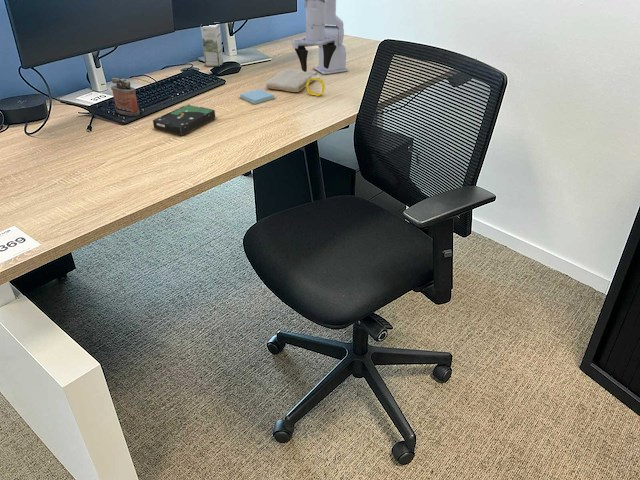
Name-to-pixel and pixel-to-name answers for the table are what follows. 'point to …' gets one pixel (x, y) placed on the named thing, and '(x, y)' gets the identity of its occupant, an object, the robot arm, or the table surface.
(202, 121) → the disk drive
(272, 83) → the washcloth
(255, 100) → the sticky note pad
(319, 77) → the yellow ring
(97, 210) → the table surface
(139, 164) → the table surface
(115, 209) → the table surface
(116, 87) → the lighter
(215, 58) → the syrup box
